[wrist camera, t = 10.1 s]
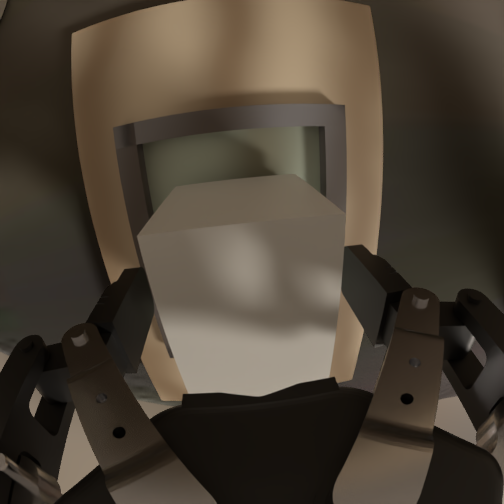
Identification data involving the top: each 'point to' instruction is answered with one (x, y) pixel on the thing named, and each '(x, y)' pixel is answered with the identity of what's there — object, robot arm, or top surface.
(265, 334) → the white block
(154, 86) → the loading dock
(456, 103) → the top surface
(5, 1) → the travel mug
